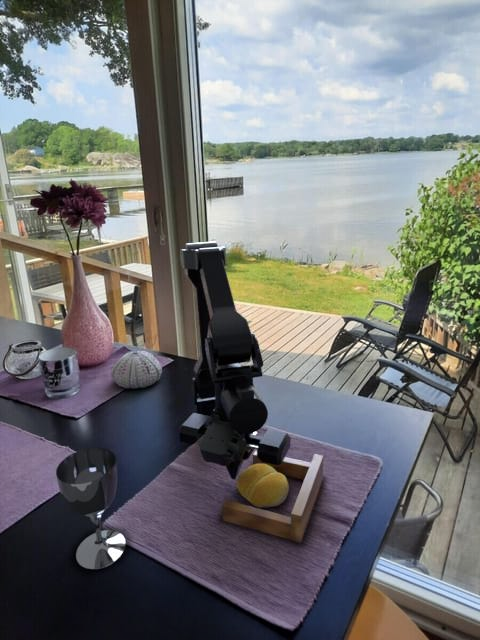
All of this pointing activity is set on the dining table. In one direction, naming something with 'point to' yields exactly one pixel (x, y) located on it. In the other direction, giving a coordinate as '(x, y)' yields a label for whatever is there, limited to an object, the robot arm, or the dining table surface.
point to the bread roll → (263, 486)
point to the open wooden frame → (301, 511)
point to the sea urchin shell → (136, 370)
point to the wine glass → (92, 502)
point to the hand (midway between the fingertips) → (234, 478)
